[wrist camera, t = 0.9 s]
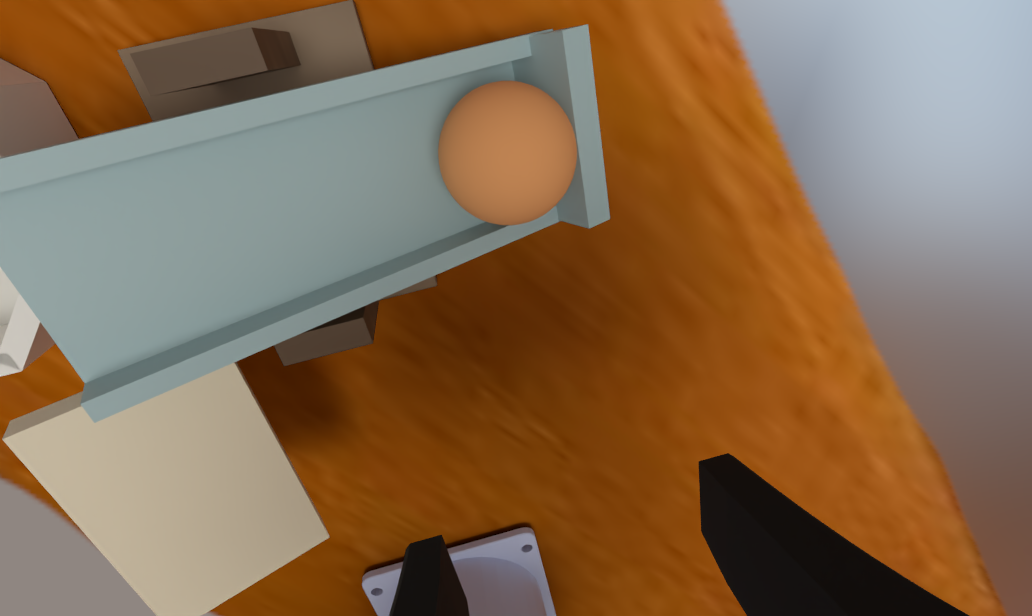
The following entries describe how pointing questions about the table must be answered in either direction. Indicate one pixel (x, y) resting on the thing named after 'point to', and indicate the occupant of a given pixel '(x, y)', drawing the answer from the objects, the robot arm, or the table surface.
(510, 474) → the table surface
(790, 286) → the table surface
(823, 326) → the table surface
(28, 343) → the bowl
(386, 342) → the table surface
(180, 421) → the lever
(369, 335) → the stand
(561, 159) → the ball
